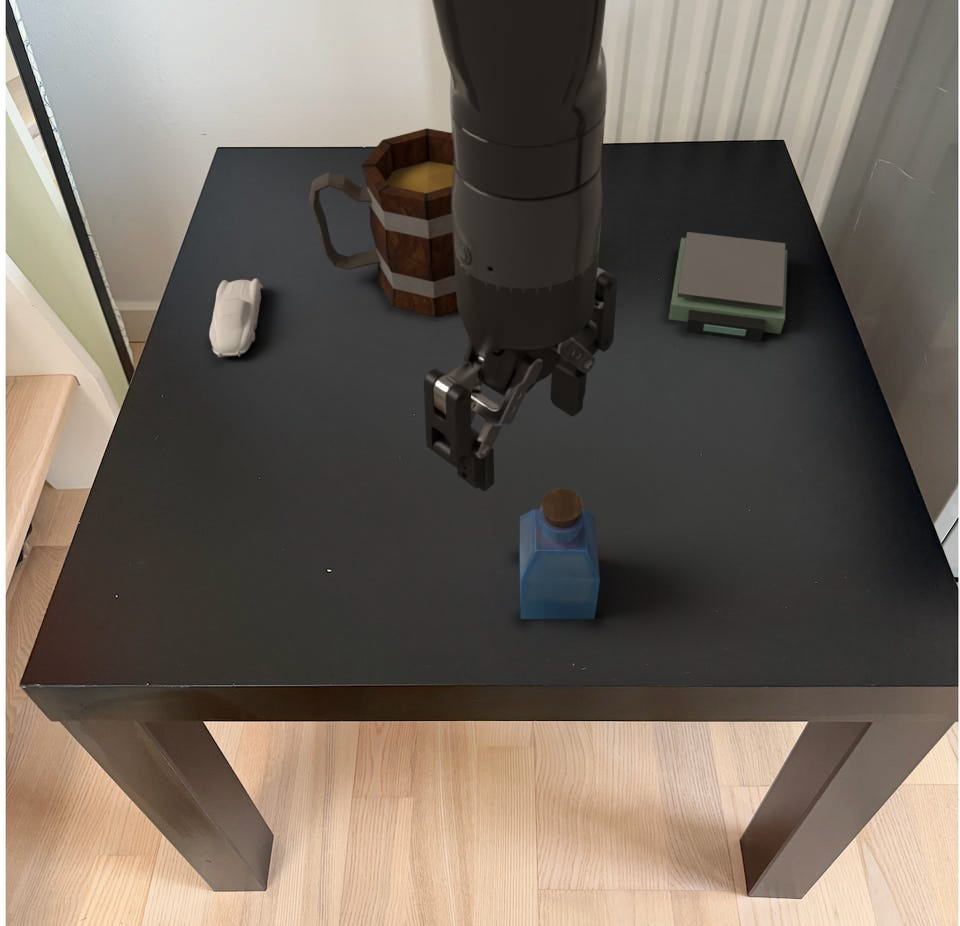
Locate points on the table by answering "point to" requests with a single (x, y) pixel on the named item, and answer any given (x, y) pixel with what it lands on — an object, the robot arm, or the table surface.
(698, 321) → the scale
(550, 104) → the robot arm
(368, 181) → the mug
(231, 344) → the toy car
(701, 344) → the table surface
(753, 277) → the pan
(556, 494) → the perfume bottle
